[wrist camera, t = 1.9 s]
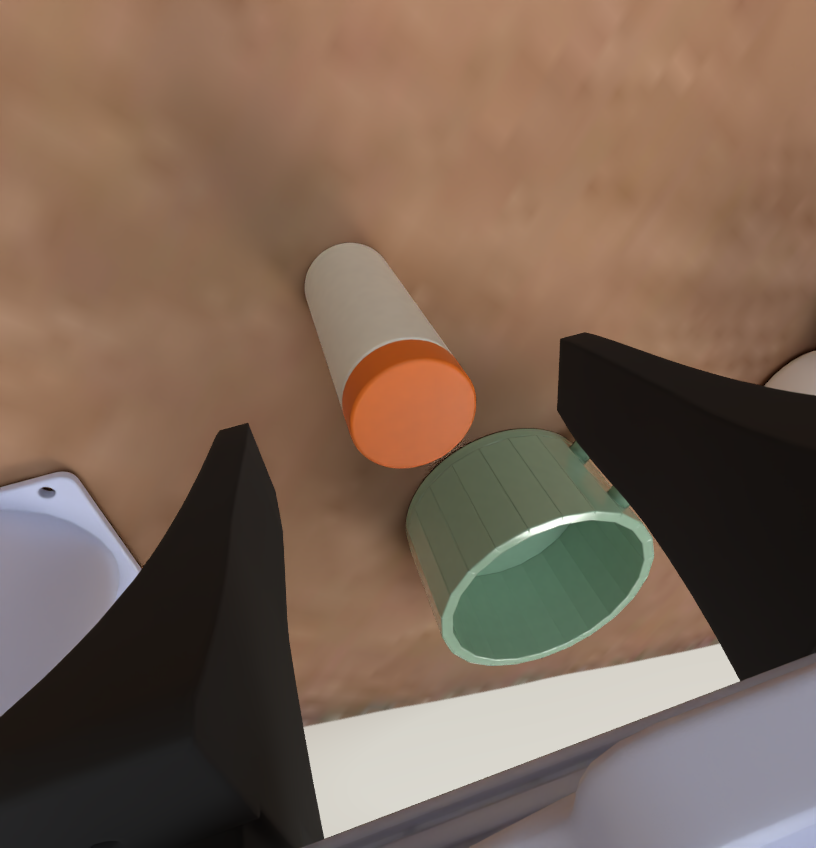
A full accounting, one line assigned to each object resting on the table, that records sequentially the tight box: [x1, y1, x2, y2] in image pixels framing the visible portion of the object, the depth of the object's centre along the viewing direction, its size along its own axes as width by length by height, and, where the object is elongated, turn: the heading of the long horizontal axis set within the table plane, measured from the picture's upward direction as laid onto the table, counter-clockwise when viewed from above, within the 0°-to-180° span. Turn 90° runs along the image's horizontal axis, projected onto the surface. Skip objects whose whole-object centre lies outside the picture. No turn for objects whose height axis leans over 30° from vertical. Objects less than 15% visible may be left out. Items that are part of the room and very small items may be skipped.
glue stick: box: [305, 243, 476, 468], centre depth 15 cm, size 3×3×8 cm
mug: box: [406, 429, 654, 666], centre depth 25 cm, size 12×10×6 cm
